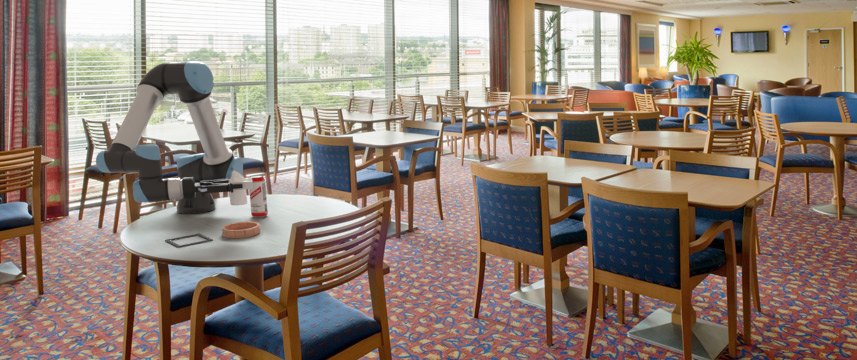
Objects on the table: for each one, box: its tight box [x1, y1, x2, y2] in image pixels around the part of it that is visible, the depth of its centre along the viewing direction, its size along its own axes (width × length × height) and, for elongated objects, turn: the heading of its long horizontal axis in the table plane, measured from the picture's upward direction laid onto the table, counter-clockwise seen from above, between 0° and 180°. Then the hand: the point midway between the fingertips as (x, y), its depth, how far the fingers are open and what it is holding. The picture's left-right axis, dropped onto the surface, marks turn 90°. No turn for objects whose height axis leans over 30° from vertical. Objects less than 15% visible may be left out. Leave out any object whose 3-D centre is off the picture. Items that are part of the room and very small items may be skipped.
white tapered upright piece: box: [228, 171, 248, 207], centre depth 234 cm, size 6×12×6 cm
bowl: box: [221, 221, 261, 239], centre depth 237 cm, size 13×13×3 cm
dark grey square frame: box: [164, 232, 214, 248], centre depth 230 cm, size 12×12×1 cm
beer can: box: [248, 174, 269, 219], centre depth 261 cm, size 6×6×16 cm
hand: (252, 183), depth 235 cm, fingers closed on white tapered upright piece, 6 cm apart
